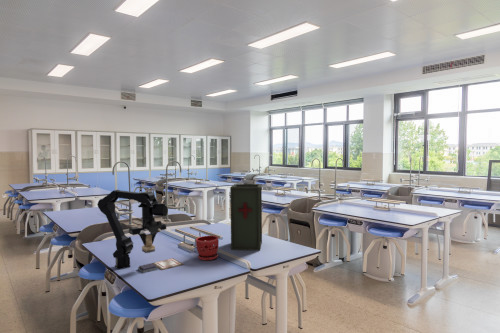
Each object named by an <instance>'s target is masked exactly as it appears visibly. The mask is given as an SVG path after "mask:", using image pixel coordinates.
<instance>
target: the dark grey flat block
mask: <svg viewBox="0 0 500 333" xmlns="http://www.w3.org/2000/svg"><path fill="white" fill-rule="evenodd" d="M153 263H154V262H150V263H146V264H141V265H139V266H137V270H138V271H140V272H141V273H142V274H144V273H148V272H153V271H157V270H158V269H159V268H158V267H157V266H156V265H154V264H153Z"/></svg>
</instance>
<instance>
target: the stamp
mask: <svg viewBox="0 0 500 333" xmlns="http://www.w3.org/2000/svg"><path fill="white" fill-rule="evenodd" d="M145 240H146V245H144V244H143V245H142V246H141V251H142V252H143V253H144V254H148V253H155V252H156V246H155V245H153V244H152V234H150V233H148V234H147V233H146V235H145Z"/></svg>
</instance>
